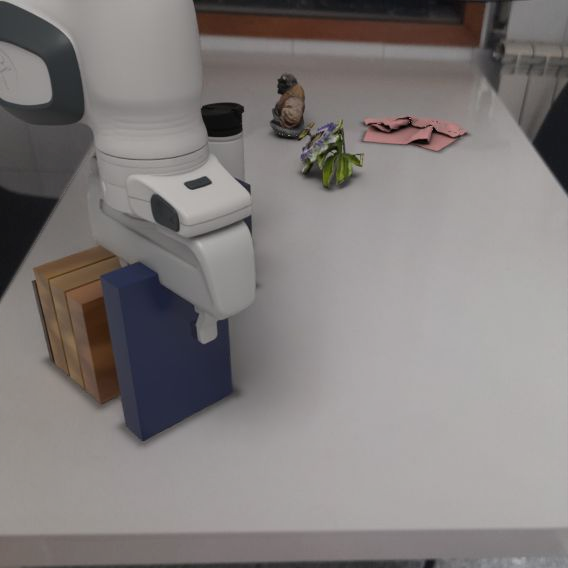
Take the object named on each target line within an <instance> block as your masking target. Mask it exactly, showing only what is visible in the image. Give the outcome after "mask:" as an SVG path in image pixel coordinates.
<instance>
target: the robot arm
mask: <svg viewBox="0 0 568 568" xmlns="http://www.w3.org/2000/svg"><path fill="white" fill-rule="evenodd" d="M203 66H204V65H203V55H202V48H201V36H200V30H199V24H198V19H197V13H196V8H195V5H194V0H0V107H1V108H3V110H4V111H6V112H7V113H8V114H10V115H12V116H13V117H15V118H17V119H18V120H20V121H22V122H25V123H27V124H30V125H34V126H49V127H50V126H67V125H74V124H81V125H85V126H87V127H88V128H89V129H90V130H91V132H92V134H93V145H94V150H95V151H94V152H93V154H92V156H91V157H90V158H89V164H90V170H91V173H89V174H88V175H87V177H86V181H85V195H86V206H87V214H88V223H89V228H90V232H91V234H92V236H93V238H94V240H95V242H96V244H98V246H102V247H104V248H105V249H107V250H108V251H110V252H111V253H113V254H115V255H116V256H118V257H119V261H120V264H121V266H122V267H125V266H128V265H131V264H133V263H136V262H141V263H142V264H144V265H145V266H147V267H149V268H150V269H152V270H153V271H155V272H156V273H158V276H159V281H160V283H161V284H162V285H163V286H165V287H167V288H168V289H170V290H171V291H173V292H174V293H176V294H178V295H179V296H181V297H182V298H184V299H185V300H187V301H189V302H190V303H192V304H193V305H194V307H195V311H196V312H197V313H199V317H198V319H196V320H194V321H192V322H190V326H191V330H192V332H191V335H192V336H193V337H194V338H195V339H197V340H198V341H199V342H201V343H202V344H206V343H208V342H210V341H212V340H214V339H215V338H216V337H217V323H216V322H217V321H218V320H223V319H226V318H228V319H229V318H230V317H232V316H235V315H237V314H239V313H241V312H244V311H245V310H247V309H248V308H249V307H251V305H252V304H253V302H254V301H255V299H256V293H257V292H256V290H257V289H256V288H257V287H256V285H257V282H256V281H257V278H256V277H257V276H256V259H255V247H254V240H253V236H252V237H251V233H250V231H249V228H248V227H247V225H246V224H245V222H244V221H243V220H242V219H244V218H246V217H248V216H250V215H251V213H253V200H252V195H251V196H250V194H249V192H248V191H247V190H246V189H245V188H244V187H243V186H242V185H241V184H240V183H239V182H238V181H237V180H236V179H234V178H233V177H232V176H231V175H230V174H229V173H228V172H227V170H226V169H225V168H224V167H223V166H222V165H221V163H220V162H219V161H218V159H217V158H216V157H215V155H213V154H212V153H209V144H208V134H207V130H206V127H205V124H204V122H203V119H202V115H201V108H202V102H201V101H202V97H203V91H204V84H205V81H204V80H205V79H204V78H205V77H204V67H203Z"/></svg>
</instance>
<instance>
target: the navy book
mask: <svg viewBox="0 0 568 568" xmlns="http://www.w3.org/2000/svg"><path fill="white" fill-rule="evenodd" d="M100 280H101V285H102V291H103V297H104V303H105V308H106V314H107V320H108V326H109V331H110V337H111V343H112V349H113V354H114V360H115V366H116V372H117V377H118V383H119V389H120V395H119V396H120V401H121V405H122V411H123V417H124V423H125V427H126V428H127V429H129V430H130V431H131V432H132V433H133V435H135V436H136V437H138V438H139V439H140V440H141V441H142V442H144V441H145V440H147V439H150V438H151V437H154V436H155V435H157V434H159V433H161V432H162V431H164V430H166V429H168V428H170V427H172V426H173V425H175V424H177V423H179V422H181V421H182V420H184V419H187V418H188V417H190V416H192V415H194V414H196V413H197V412H199V411H201V410H203V409H205V408H207V407H209V406H210V405H212V404H214V403H217V402H218V401H220V400H221V399H223V398H226V397H227V396H229V395H231V394H233V391H234V390H233V375H232V374H233V373H232V359H231V342H230V340H231V339H230V326H229V325H230V324H229V317H228V318H226V319H223V320H218V321H217V322H216V323H217V337H216V338H215V339H214V340H212V341H210V342H208V343H206V344H202V343H201V342H199V341H198V340H197V339H195V338H194V337H193V336H192V335H191V332H192V330H191V326H190V322H192V321H194V320H196V319H198V317H199V313H197V312H196V311H195V307H194V305H193V304H192V303H190V302H189V301H187V300H185V299H184V298H182V297H181V296H179V295H178V294H176V293H174V292H173V291H171V290H170V289H168V288H167V287H165V286H163V285H162V284H161V283H160V281H159V276H158V273H156V272H155V271H153V270H152V269H150V268H149V267H147V266H145V265H144V264H142V263H141V262H136V263H133V264H131V265H128V266H125V267H122V268H120V269H117V270H114V271H111V272H109V273H106V274H103V275H100Z"/></svg>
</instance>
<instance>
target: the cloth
mask: <svg viewBox="0 0 568 568" xmlns="http://www.w3.org/2000/svg"><path fill="white" fill-rule="evenodd" d="M404 116H405V117H403V116H398V117H399V118H394V117H395V116H392V117H393V118H384V119H371V118H366V119H363V120H364V121H363V122H364V123H365V126H367V125H368V126H369V127H368V129H367V130H366V133H365V136H364V137H363V142H368V143H369V142H370V143H378V144H390V145H391V144H392V145H408V144H410V145H414V146H418V147H421V148H424V149H427V150H431V151H434V152H439V151H441V150H442V149H444V148H446V147H447V146H449V145H451V144H452V143H454V142H455V141H457V140H459V136H463V135H467V134H468V131H467V129H465V128H464V127H463V126H461V125H459V124H457V123H455V122H451V121H448V120H442V119H435V118H425V117H420V118H421V119H419V120H418V121H416V120H417V119H418V117H419V116H413V115H412V116H411V115H404ZM409 118H411V119H409ZM411 121H412V122H411ZM414 121H416V122H414ZM432 121H434V122H432ZM436 121H438V123H440V125H439V126H438V125H437V124H438V123H437V122H436ZM409 122H410V123H409ZM413 122H414V123H413ZM377 123H381V124H377ZM427 123H429V124H427ZM454 123H455V124H454ZM425 125H426V127H425ZM443 125H445V127H444V128H443V129H445V130H447V131H445V130H443V129H442V126H443ZM430 126H433V127H430ZM437 126H438V129H437ZM378 127H379V128H378ZM460 128H461V129H462V128H463V129H464V130H461V129H460ZM432 129H433V130H432ZM436 129H437V130H436ZM459 129H460V130H459ZM448 131H451V132H448ZM454 132H457V133H454Z"/></svg>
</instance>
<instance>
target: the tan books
mask: <svg viewBox="0 0 568 568" xmlns="http://www.w3.org/2000/svg"><path fill="white" fill-rule="evenodd" d="M120 268H122V266H121V264H120V261H119V257H118V256H116V255H115V254H113V253H111V252H110V251H108V250H107V249H105V248H104V247H102V246H100V245H97V246H94V247H91V248H88V249H86V250H83V251H79V252H76V253H73V254H71V255H67V256H64V257H61V258H58V259H55V260H52V261H50V262H46V263H43V264H40V265H38V266H35V267H34V266H33V268H32V270H33V275H34V278H35V279H33V280H31V284H32V285H31V286H32V290H33V293H34V297H35V301H36V305H37V310H38V314H39V319H40V322H41V328H42V331H43V335H44V340H45V344H46V347H47V348H46V349H47V352H48V355H49V360H50V361H51V363H54V364H55V365H56V367H57V368H58V369H60V370H61V371H62V372H63V373H64V374H65V375H67V376H68V377H70V379H71V380H73V381H74V382H75V383H76V384H77V385H78V386H80V387H81V388H82V389H83V390H84V391H85V392H86V393H88V395H90V396H91V397H92V398H93V399H94V400H96V402H97V403H99V405H103V404H105V403H107V402H109V401H111V400H113V399H115V398H118V397H119V396H121V395H120V389H119V383H118V377H117V372H116V366H115V360H114V354H113V349H112V343H111V337H110V331H109V326H108V320H107V314H106V308H105V303H104V297H103V291H102V285H101V280H100V275H103V274H106V273H109V272H111V271H114V270H117V269H120Z"/></svg>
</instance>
